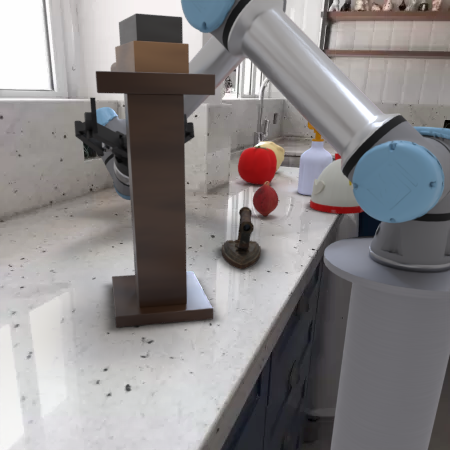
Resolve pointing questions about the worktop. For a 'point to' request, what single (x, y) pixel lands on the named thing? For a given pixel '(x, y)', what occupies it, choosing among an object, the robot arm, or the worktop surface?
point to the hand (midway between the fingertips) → (138, 106)
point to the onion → (265, 199)
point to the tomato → (257, 165)
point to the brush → (151, 45)
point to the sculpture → (276, 148)
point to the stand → (157, 198)
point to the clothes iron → (242, 244)
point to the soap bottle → (312, 164)
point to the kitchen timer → (334, 191)
